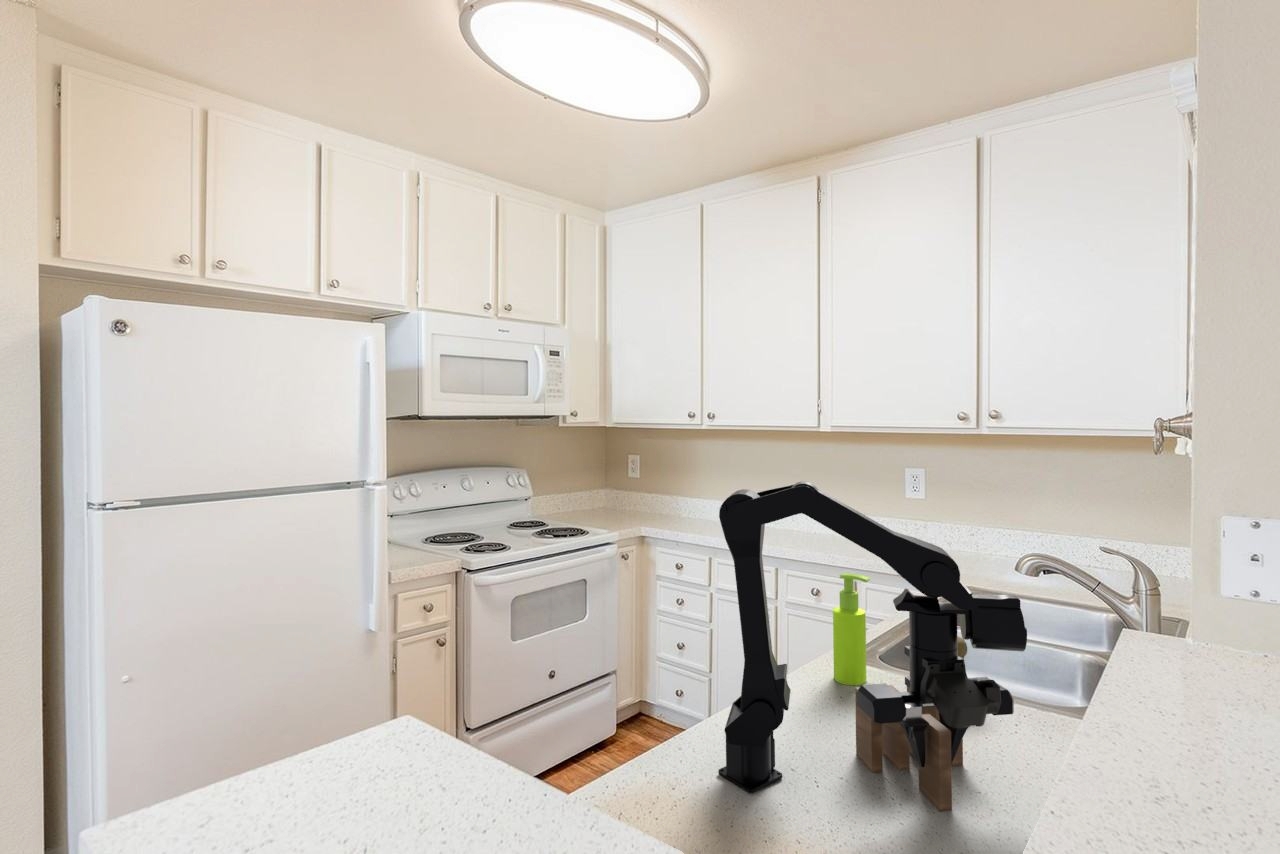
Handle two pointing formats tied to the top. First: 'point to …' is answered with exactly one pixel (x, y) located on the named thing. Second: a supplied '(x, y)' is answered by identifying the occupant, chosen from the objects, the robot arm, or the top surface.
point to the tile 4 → (959, 754)
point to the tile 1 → (868, 740)
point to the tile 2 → (895, 744)
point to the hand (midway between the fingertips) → (934, 764)
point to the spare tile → (937, 765)
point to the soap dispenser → (849, 635)
